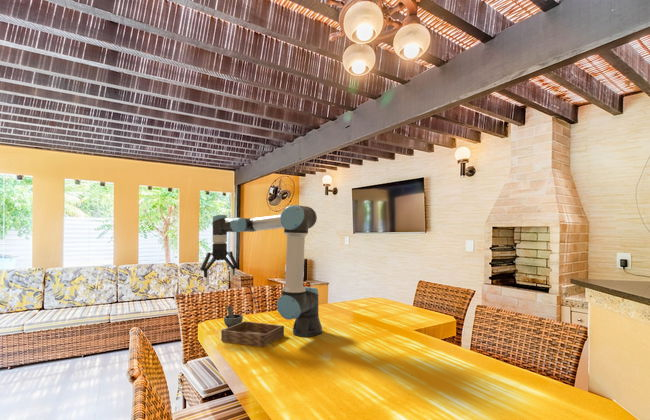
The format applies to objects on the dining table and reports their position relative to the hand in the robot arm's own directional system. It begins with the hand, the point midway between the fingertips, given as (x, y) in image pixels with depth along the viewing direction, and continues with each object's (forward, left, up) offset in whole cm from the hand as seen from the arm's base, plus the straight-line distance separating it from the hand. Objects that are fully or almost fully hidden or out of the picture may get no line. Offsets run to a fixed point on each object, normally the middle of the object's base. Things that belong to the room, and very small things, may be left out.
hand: (219, 282), depth 190 cm
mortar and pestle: (-7, -3, -25) cm, 26 cm away
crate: (-27, +6, -25) cm, 37 cm away
